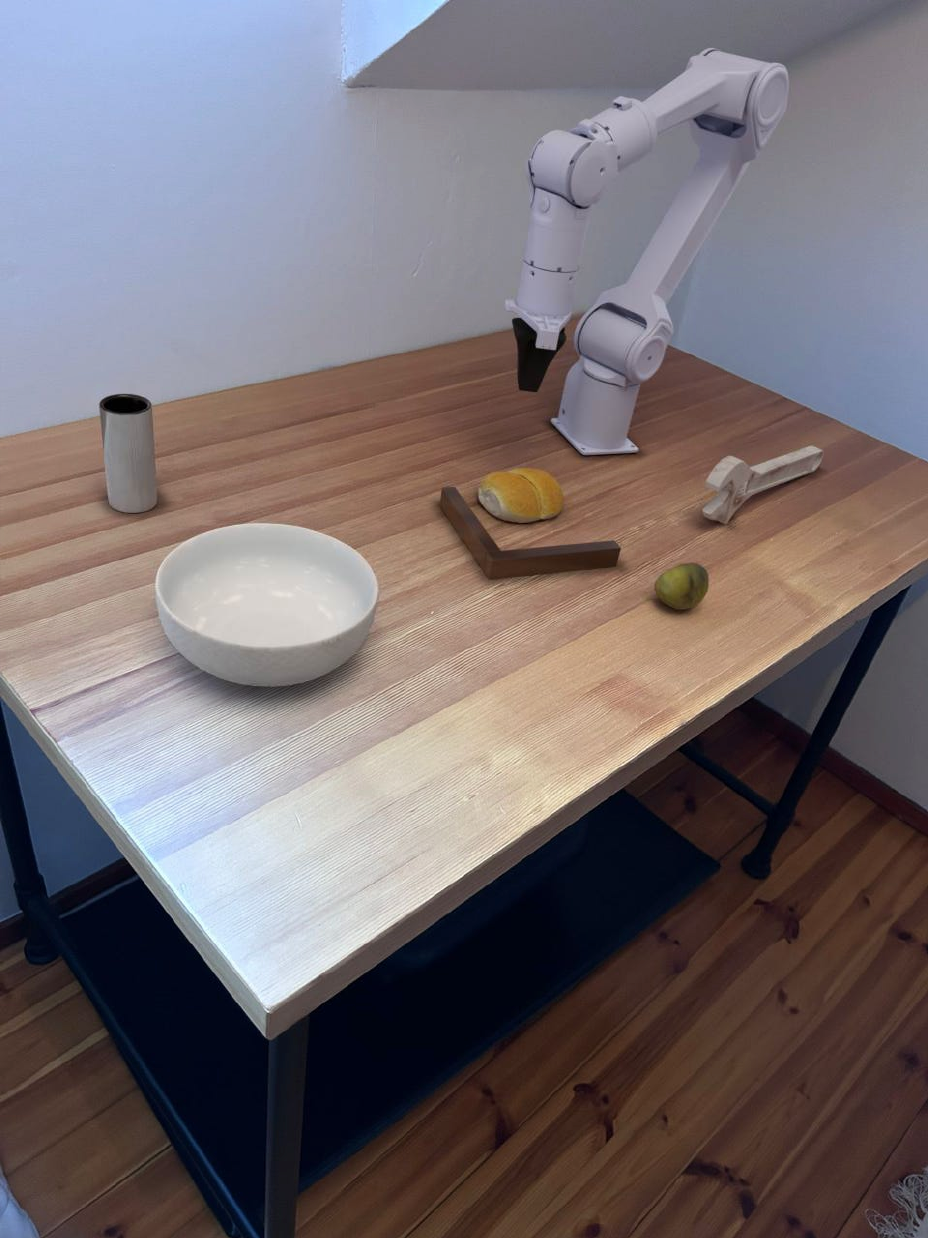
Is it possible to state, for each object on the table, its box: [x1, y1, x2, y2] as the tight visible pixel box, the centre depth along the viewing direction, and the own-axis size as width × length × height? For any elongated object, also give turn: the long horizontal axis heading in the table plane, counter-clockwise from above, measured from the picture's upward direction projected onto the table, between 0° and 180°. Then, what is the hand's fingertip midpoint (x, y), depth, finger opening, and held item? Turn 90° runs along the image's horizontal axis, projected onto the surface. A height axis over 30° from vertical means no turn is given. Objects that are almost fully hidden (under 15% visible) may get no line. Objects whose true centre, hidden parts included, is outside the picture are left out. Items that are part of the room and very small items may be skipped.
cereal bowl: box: [154, 522, 380, 688], centre depth 75 cm, size 17×17×7 cm
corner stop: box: [439, 486, 622, 580], centre depth 97 cm, size 14×14×2 cm
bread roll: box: [477, 467, 564, 524], centre depth 101 cm, size 8×9×4 cm
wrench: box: [701, 445, 825, 526], centre depth 110 cm, size 8×2×30 cm
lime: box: [654, 562, 710, 610], centre depth 89 cm, size 4×5×5 cm
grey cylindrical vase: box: [98, 393, 158, 514], centre depth 89 cm, size 4×4×10 cm
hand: (527, 389), depth 104 cm, fingers closed
